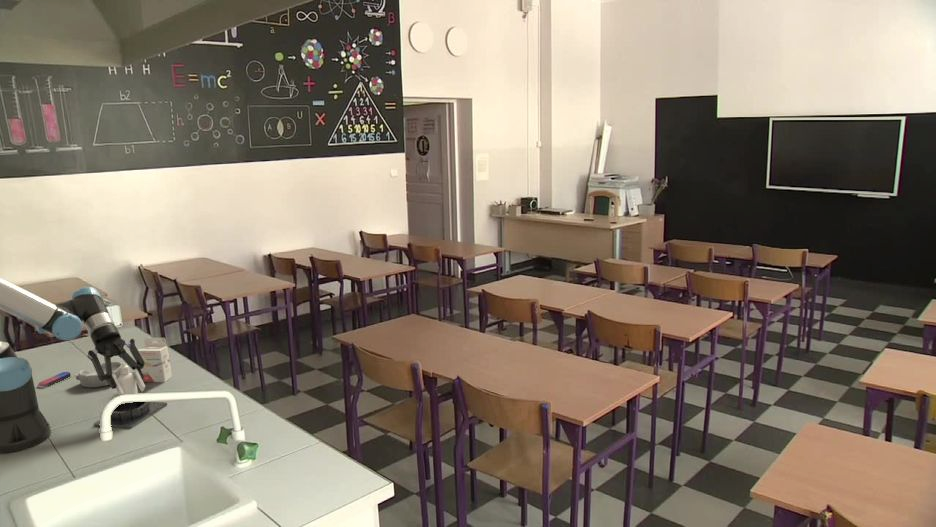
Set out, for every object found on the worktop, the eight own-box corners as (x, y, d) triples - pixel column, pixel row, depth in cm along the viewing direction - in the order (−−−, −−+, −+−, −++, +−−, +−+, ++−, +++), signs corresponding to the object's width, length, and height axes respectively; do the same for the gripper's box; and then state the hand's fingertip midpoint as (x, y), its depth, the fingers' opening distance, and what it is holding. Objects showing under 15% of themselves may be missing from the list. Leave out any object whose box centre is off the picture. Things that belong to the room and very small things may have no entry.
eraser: (44, 389, 227) (43, 385, 226) (35, 388, 228) (34, 383, 228) (73, 376, 237) (72, 372, 236) (65, 375, 238) (64, 371, 238)
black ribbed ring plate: (131, 428, 192) (130, 417, 192) (94, 425, 195) (92, 415, 194) (167, 404, 208) (165, 395, 207) (131, 403, 210) (130, 393, 210)
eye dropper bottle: (117, 401, 200) (110, 364, 197) (135, 394, 204) (128, 358, 202) (124, 404, 197) (117, 367, 195) (142, 397, 202) (135, 360, 199)
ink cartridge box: (141, 382, 228) (135, 342, 224) (149, 377, 232) (143, 337, 229) (165, 382, 227) (158, 341, 224) (172, 376, 232) (166, 337, 228)
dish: (71, 388, 226) (69, 374, 225) (102, 373, 239) (100, 360, 238) (107, 390, 223) (104, 376, 222) (136, 374, 236) (134, 361, 235)
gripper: (131, 329, 214) (161, 387, 207) (69, 345, 201) (98, 409, 193) (135, 316, 209) (165, 375, 202) (71, 332, 196) (101, 396, 189)
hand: (132, 392), depth 198 cm, fingers closed on eye dropper bottle, 5 cm apart
